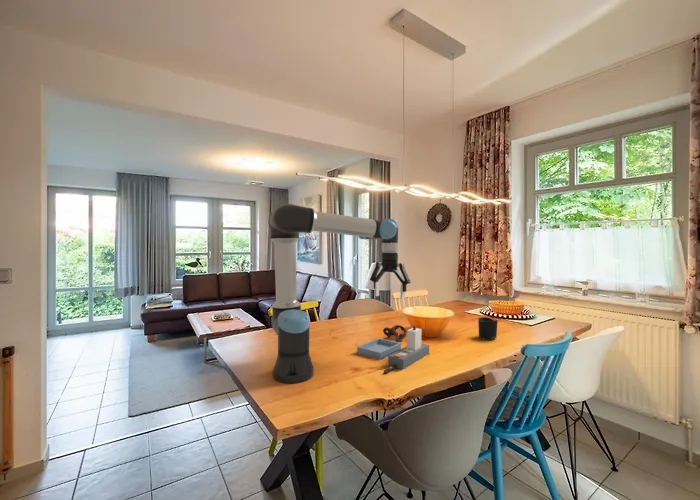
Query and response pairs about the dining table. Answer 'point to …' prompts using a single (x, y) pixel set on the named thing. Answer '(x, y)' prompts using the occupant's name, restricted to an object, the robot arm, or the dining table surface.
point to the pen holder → (487, 328)
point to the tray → (378, 348)
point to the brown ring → (393, 332)
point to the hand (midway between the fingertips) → (389, 297)
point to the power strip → (406, 357)
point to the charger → (414, 338)
